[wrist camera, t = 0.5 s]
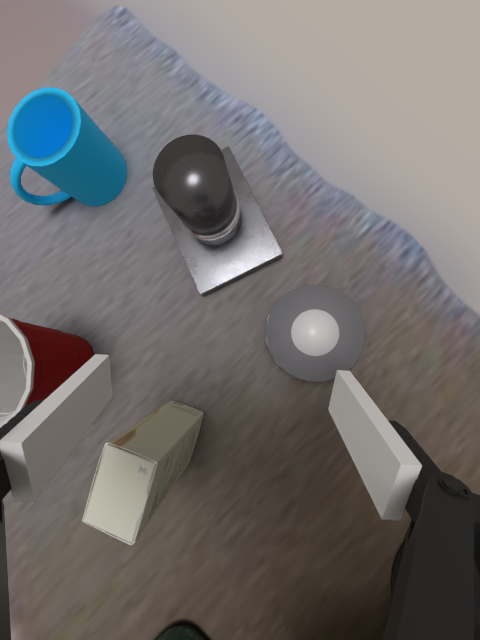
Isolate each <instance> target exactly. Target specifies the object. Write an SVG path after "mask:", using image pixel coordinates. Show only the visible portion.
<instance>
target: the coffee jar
mask: <svg viewBox="0 0 480 640" xmlns="http://www.w3.org/2000/svg"><path fill="white" fill-rule="evenodd" d="M156 640H205V639H204V637H203V636H202V635H201V634H200V633H199V632H198V631H197V630H195V629H194V628H193V627H191V626H189V625H177V626H174V627H171V628H170V629H168V630H166V631H165V632H164V633H163V634H161V635H160V636H159V637H158V638H157V639H156Z"/></svg>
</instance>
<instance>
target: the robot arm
mask: <svg viewBox="0 0 480 640" xmlns="http://www.w3.org/2000/svg"><path fill="white" fill-rule="evenodd" d="M112 397H113V393H112V381H111V370H110V359H109V355H101V354H95V355H94V356H93V357H92V358H91V359H90V360H88V361H87V362H86V363H85V364H84V365H83V366H82V367H81V368H80V369H78V370H77V371H76V372H75V373H74V374H73V375H72V376H71V377H70V378H68V379H67V380H66V381H65V382H64V383H63V384H62V385H61V386H60V387H58V388H57V389H56V390H55V391H54V392H53V393H52V394H51V395H50V396H49V397H47V398H46V399H45V400H37V401H35V402H33V403H31V404H29V405H27V406H25V407H24V408H23V409H22V410H20V411H19V412H18V413H17V414H16V415H15V417H12V418H11V419H10V420H9V421H8V422H7V424H6V423H5V424H4V425H3V426H2V427H0V640H11V630H10V611H9V592H8V573H7V555H6V536H5V517H4V504H3V501H2V499H3V498H4V497H5V496H6V494H7V493H8V492H9V491H10V490H11V492H12V496H13V500H14V501H21V502H36V500H37V499H38V497H39V496H40V495H41V493H42V492H43V491H44V489H45V488H46V487H47V485H48V484H49V482H50V481H51V480H52V478H53V477H54V476H55V474H56V473H57V472H58V470H59V469H60V468H61V466H62V465H63V463H64V462H65V461H66V459H67V458H68V457H69V455H70V454H71V453H72V451H73V450H74V448H75V447H76V446H77V444H78V443H79V442H80V440H81V439H82V438H83V436H84V435H85V433H86V432H87V431H88V429H89V428H90V427H91V425H92V424H93V423H94V421H95V420H96V419H97V417H98V416H99V414H100V413H101V412H102V410H103V409H104V408H105V406H106V405H107V404H108V402H109V401H110V399H111V398H112ZM328 410H329V412H330V414H331V416H332V418H333V420H334V422H335V425H336V427H337V429H338V431H339V433H340V435H341V437H342V439H343V441H344V443H345V445H346V447H347V449H348V451H349V453H350V455H351V457H352V459H353V461H354V463H355V466H356V468H357V470H358V472H359V474H360V476H361V478H362V480H363V482H364V484H365V486H366V488H367V490H368V492H369V494H370V496H371V498H372V500H373V502H374V504H375V506H376V509H377V511H378V513H379V515H380V517H381V519H386V520H401V519H402V517H403V514H404V512H405V509H406V510H407V512H408V514H409V515H410V517H411V519H412V520H411V523H410V525H409V528H408V530H407V532H406V535H405V537H404V540H406V541H405V542H404V544H403V545H402V547H401V549H400V550H399V552H398V555H397V557H396V560H395V563H394V567H393V572H392V596H393V597H392V601H391V606H390V610H389V614H388V618H387V623H386V627H385V631H384V635H383V640H480V495H477V494H474V493H472V492H471V491H470V489H469V488H468V487H467V486H466V485H465V484H464V483H462V482H461V481H460V480H458V479H457V478H455V477H453V476H452V475H449V474H446V473H444V472H441V471H440V470H439V469H438V467H437V466H436V465H435V464H434V462H433V461H432V460H431V459H430V458H429V456H428V455H427V454H426V453H425V452H424V450H423V449H422V448H421V447H419V444H418V443H417V442H416V441H415V439H413V437H412V436H411V435H410V433H409V432H408V431H407V430H406V429H405V428H404V427H403V426H401V425H400V424H399V423H397V422H396V421H388V420H387V419H386V418H385V416H384V415H383V414H382V412H381V411H380V410H379V409H378V407H377V406H376V405H375V403H374V402H373V401H372V399H371V398H370V397H369V395H368V394H367V393H366V392H365V390H364V389H363V388H362V386H361V385H360V384H359V382H358V381H357V380H356V378H355V377H354V376H353V375H352V373H351V372H350V371H343V370H337V372H336V376H335V381H334V385H333V390H332V394H331V399H330V404H329V408H328Z"/></svg>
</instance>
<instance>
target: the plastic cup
mask: <svg viewBox="0 0 480 640" xmlns="http://www.w3.org/2000/svg"><path fill="white" fill-rule="evenodd" d="M93 356H94V354H93V351H92V347H91V346H90V345H89V344H88V342H87V341H86V340H84V339H82V338H80V337H78V336H76V335H72V334H68V333H63V332H61V331H58V330H54V329H50V328H45V327H41V326H37V325H33V324H28V323H24V322H20V321H18V320H15V319H10V318H8V317H6V316H4V315H2V314H0V427H2V426H3V425H4V424H5V423H6V424H7V422H8V421H9V420H10V419H11V418H12V417H15V415H16V414H17V413H18V412H19V411H20V410H22V409H23V408H24V407H25V406H27V405H29V404H31V403H33V402H35V401H37V400H45V399H46V398H47V397H49V396H50V395H51V394H52V393H53V392H54V391H55V390H56V389H57V388H58V387H60V386H61V385H62V384H63V383H64V382H65V381H66V380H67V379H68V378H70V377H71V376H72V375H73V374H74V373H75V372H76V371H77V370H78V369H80V368H81V367H82V366H83V365H84V364H85V363H86V362H87V361H88V360H90V359H91V358H92V357H93Z"/></svg>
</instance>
